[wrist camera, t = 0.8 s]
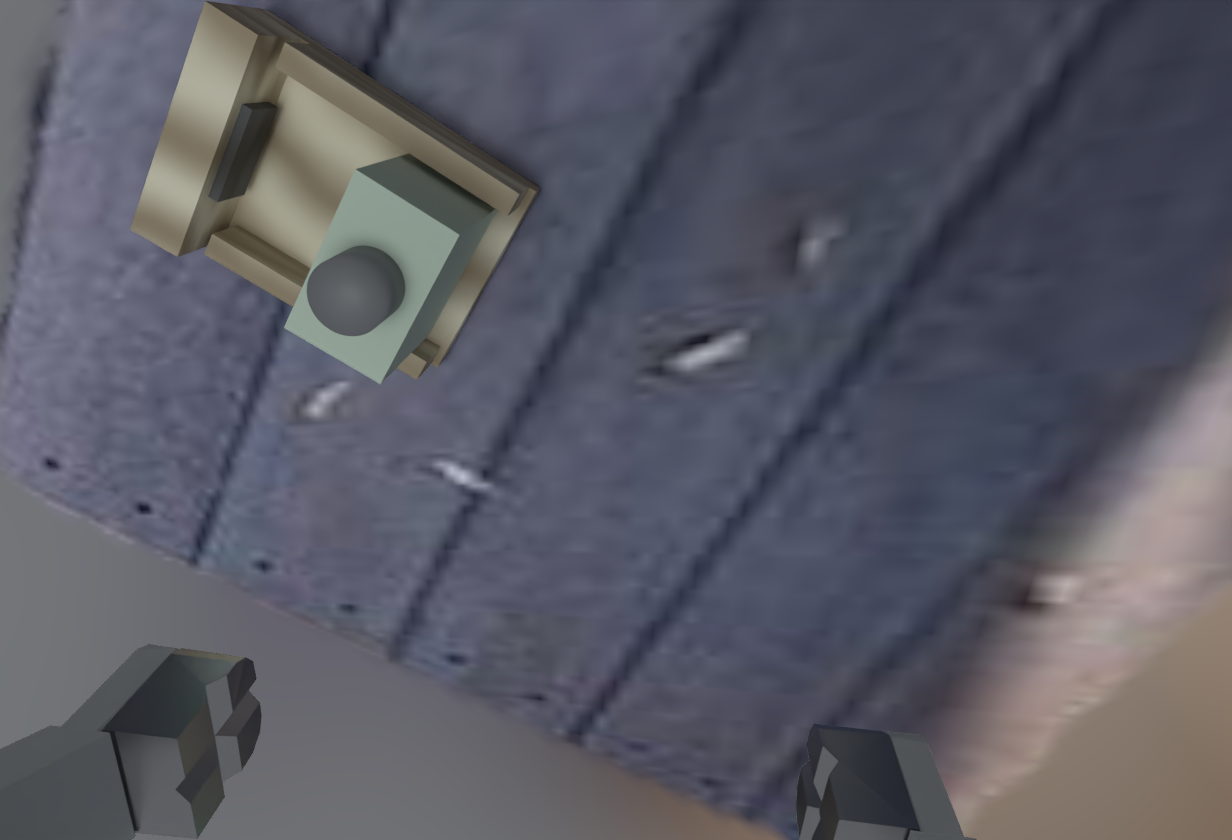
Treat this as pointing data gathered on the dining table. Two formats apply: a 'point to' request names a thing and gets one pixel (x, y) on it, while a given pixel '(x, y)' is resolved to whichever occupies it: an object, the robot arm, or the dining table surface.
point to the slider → (388, 264)
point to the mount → (299, 161)
